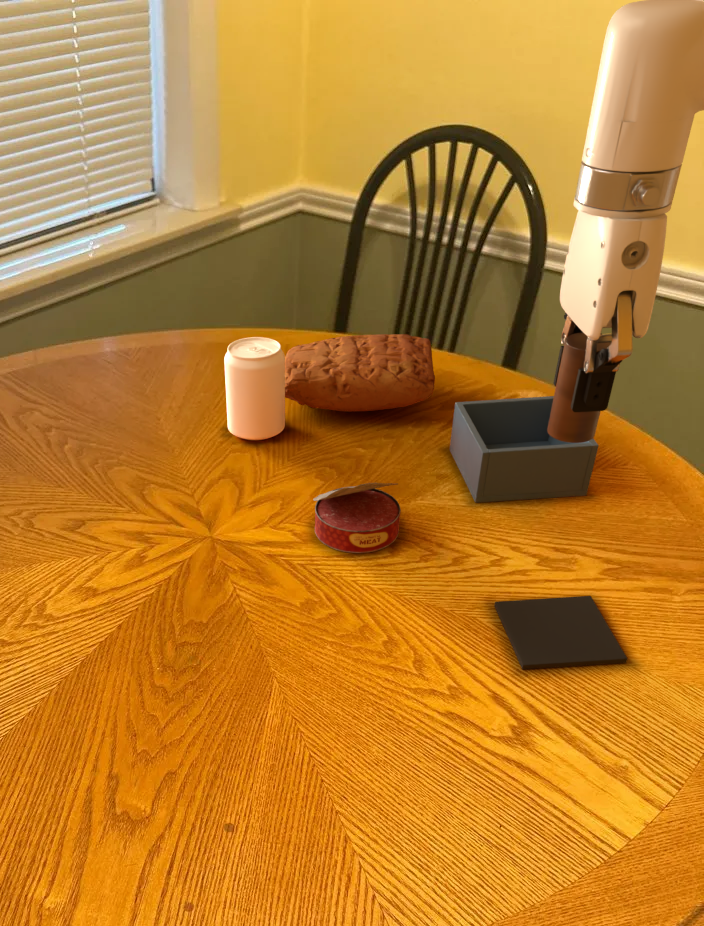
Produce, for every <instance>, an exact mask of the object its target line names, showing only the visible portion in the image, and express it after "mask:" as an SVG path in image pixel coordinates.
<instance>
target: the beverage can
mask: <svg viewBox="0 0 704 926" xmlns="http://www.w3.org/2000/svg"><path fill="white" fill-rule="evenodd" d="M285 357H286V355H285V353H284V351H283V349H282V345H281V343H280V342H279V341H277V340H275V339H273V338H270V337H263V336H252V337H251V336H250V337H243V338H239V339H236V340H234V341H232V342H231V343H229V345H228V346H227V351H226V352H225V355H224V359H223V363H224V381H225V398H226V400H225V402H226V418H227V419H226V420H227V430H228V431H229V432H230V433H231V434H232V435H233V436H234V437H237V438H240V439H243V440H248V441H262V440H267V439H270V438H272V437H275V436H277V435H279V434H281V433H282V432H283V431H284V429H285V427H286V397H285Z"/></svg>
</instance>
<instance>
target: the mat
mask: <svg viewBox="0 0 704 926" xmlns="http://www.w3.org/2000/svg"><path fill="white" fill-rule="evenodd" d="M493 606H494V609H495V611H496V613H497V615H498V617H499V620H500V623H501V624H502V627H503V629H504V631H505V634H506V636H507V638H508V641H509V643H510V645H511V647H512V649H513V652H514V654H515V657H516V658H517V661H518V663H519V665H520V668H521V670H535V669H536V670H537V669H551V668H568V667H569V668H570V667H583V666H585V667H586V666H599V665H614V664H615V665H617V664H626V663H627V661H628V657H627V655H626V653H625V651H624V650H623V648H622V647H621V645H620V643H619V642H618V640H617V638H616V636H615V635H614V633H613V631H612V630H611V628H610V626H609V625H608V623H607V621H606V619H605V618H604V616H603V614H602V613H601V611H600V609H599V607H598V605H597V603H596V602H595V601H594V599H593V597H592V596H591V595H581V596H580V595H579V596H578V595H577V596H564V597H563V596H562V597H548V598H534V599H533V598H532V599H517V600H516V599H515V600H501V601H494V605H493Z"/></svg>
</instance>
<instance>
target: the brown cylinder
mask: <svg viewBox="0 0 704 926" xmlns="http://www.w3.org/2000/svg"><path fill="white" fill-rule="evenodd" d="M586 344H587V335H585V334H584V333H576V334H572V335H569V336H568V337H567V338H566V339H565V343H564V345H563V346H564V348H563V353H562V358H561V363H560V368H559V373H558V378H557V383H556V387H555V388H554V394H553V396H554V398H553V403H552V408H551V413H550V418H549V423H548V428H547V432H548V434H549V435H550V436H551V437H553V438H555V439H557V440H560V441H563V442H569V443H582V442H587V441H589V440H591V439H595V436H596V432H597V428H598V423H599V420H600V416H601V412H602V411H592V412H573V410H572V409H571V403H572V398H573V394H574V389H575V384H576V380H577V375H578V370H579V369H582V368H584V360H585V352H586ZM610 345H611V342H607V343H598V345H597V353H596V355H597V354H598V353H599V352H600V351H601V350H602V349H607V348H608V346H610Z"/></svg>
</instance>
